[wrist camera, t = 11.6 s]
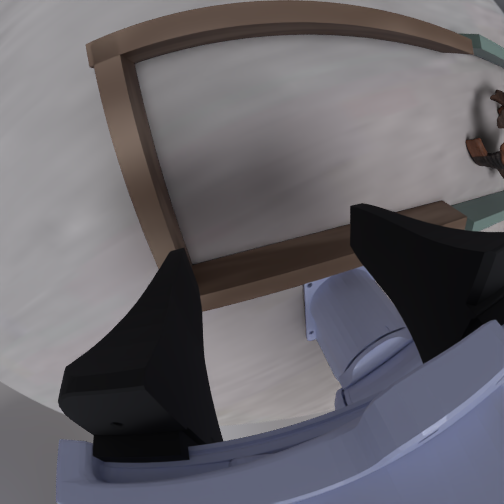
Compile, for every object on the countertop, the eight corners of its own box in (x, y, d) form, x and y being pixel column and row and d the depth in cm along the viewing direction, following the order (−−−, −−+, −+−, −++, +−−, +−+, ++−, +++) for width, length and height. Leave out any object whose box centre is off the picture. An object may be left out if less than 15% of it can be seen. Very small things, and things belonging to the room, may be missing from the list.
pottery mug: (449, 124, 20) (512, 105, 12) (458, 89, 22) (506, 71, 14) (490, 207, 23) (544, 203, 16) (496, 162, 25) (540, 154, 17)
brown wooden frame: (440, 212, 25) (464, 229, 22) (177, 284, 23) (177, 317, 19) (440, 38, 15) (471, 39, 11) (105, 53, 12) (85, 44, 9)
